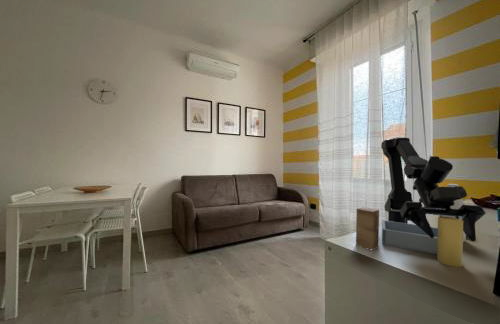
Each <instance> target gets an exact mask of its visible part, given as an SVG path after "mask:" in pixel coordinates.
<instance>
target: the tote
mask: <svg viewBox="0 0 500 324" xmlns="http://www.w3.org/2000/svg"><path fill="white" fill-rule="evenodd" d="M431 229H432V231H433V234H434V237H433V238H431V237H430V236H429V235H427V234H426V233H425V232H424V231H423V230H422V229H421V228H420V227H418V226H417V225H416V224H414V223H408V224H407V223H400V222H393V221H388V220H383V219H381V240H382V241H381V242H382V245H383V246H384V245H385V246H391V247H395V248H399V249H400V248H401V249H405V250H406V249H407V250H412V251H415V252H422V253H426V254H431V255H437V251H438V227H435V226H431Z"/></svg>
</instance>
